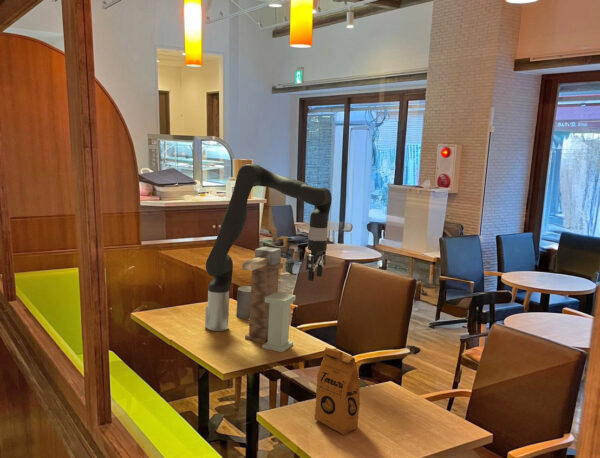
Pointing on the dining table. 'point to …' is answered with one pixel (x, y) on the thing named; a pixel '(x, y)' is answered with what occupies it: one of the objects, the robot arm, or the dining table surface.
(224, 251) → the robot arm
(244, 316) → the pillar candle
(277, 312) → the pale green square pedestal
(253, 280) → the tall stand
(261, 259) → the mallet
